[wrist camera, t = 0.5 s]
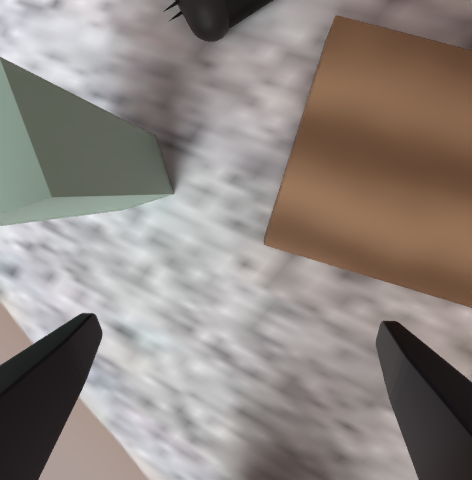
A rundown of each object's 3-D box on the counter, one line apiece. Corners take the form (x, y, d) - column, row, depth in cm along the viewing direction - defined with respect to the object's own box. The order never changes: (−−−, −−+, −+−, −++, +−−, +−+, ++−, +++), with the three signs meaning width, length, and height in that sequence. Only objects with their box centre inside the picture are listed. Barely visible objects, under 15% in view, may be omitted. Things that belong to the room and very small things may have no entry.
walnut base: (445, 292, 21) (474, 308, 18) (264, 237, 22) (263, 244, 19) (533, 96, 19) (583, 79, 16) (325, 42, 20) (335, 15, 17)
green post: (173, 194, 22) (51, 197, 10) (121, 210, 23) (-60, 233, 10) (155, 135, 22) (-2, 56, 9) (102, 154, 22) (-115, 103, 10)
